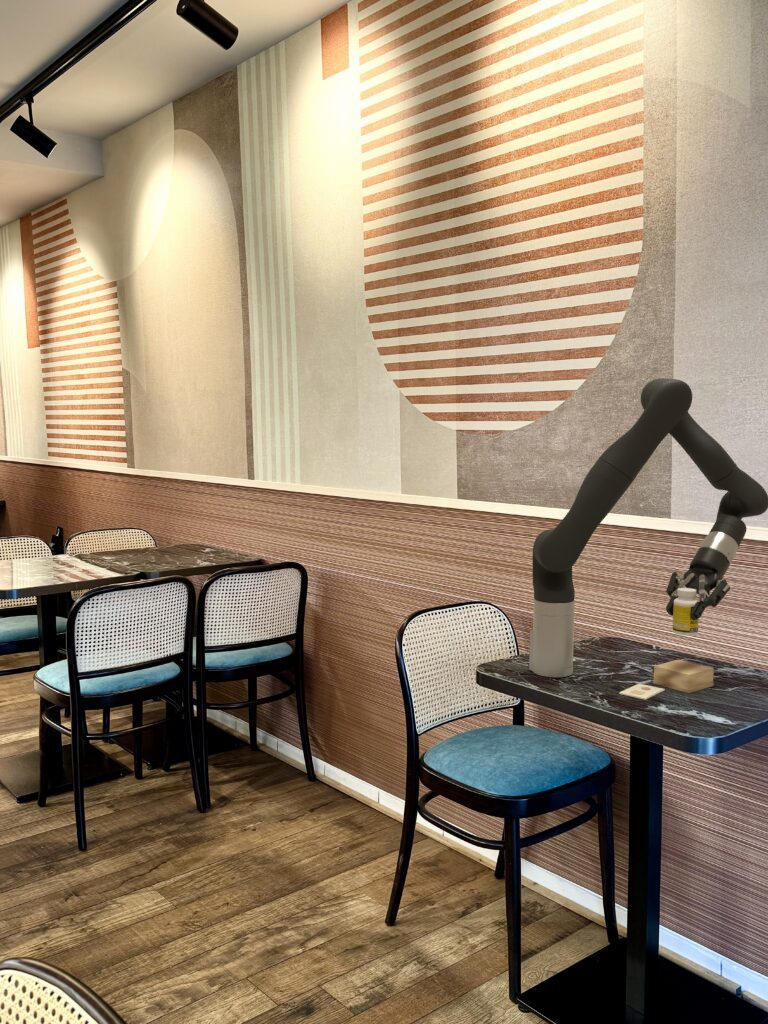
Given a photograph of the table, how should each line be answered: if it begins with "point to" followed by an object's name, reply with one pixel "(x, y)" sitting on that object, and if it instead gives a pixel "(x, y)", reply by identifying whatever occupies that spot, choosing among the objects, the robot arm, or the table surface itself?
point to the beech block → (683, 676)
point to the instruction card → (641, 691)
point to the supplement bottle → (684, 612)
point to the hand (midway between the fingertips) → (681, 615)
